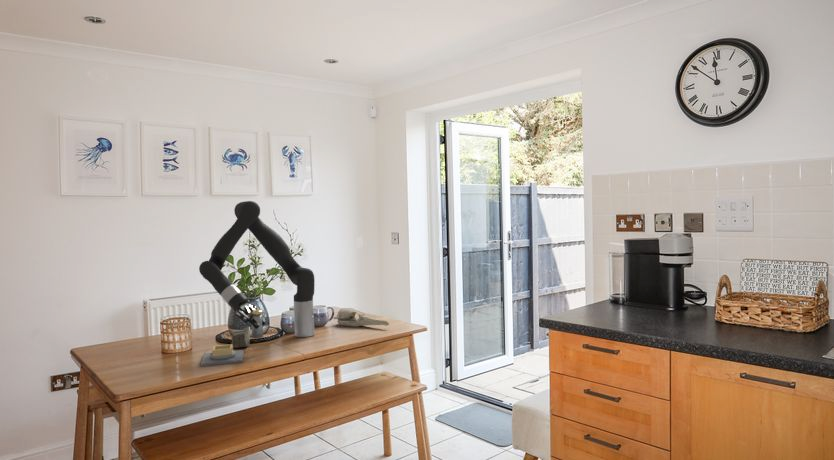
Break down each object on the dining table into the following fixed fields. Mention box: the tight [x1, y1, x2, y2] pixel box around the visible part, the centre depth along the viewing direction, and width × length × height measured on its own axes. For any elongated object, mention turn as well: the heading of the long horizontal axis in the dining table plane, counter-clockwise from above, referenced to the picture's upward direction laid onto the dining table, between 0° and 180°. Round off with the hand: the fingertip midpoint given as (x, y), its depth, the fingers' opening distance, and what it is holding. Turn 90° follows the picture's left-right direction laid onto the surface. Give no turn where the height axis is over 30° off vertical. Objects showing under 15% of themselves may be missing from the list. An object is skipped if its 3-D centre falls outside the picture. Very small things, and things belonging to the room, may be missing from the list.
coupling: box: [250, 309, 264, 339], centre depth 228 cm, size 5×5×11 cm
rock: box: [231, 326, 251, 349], centre depth 248 cm, size 17×7×10 cm
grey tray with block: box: [200, 343, 245, 367], centre depth 225 cm, size 16×16×5 cm
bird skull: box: [333, 307, 390, 328], centre depth 280 cm, size 8×32×10 cm, turn 62°
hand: (261, 325), depth 228 cm, fingers closed on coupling, 4 cm apart
